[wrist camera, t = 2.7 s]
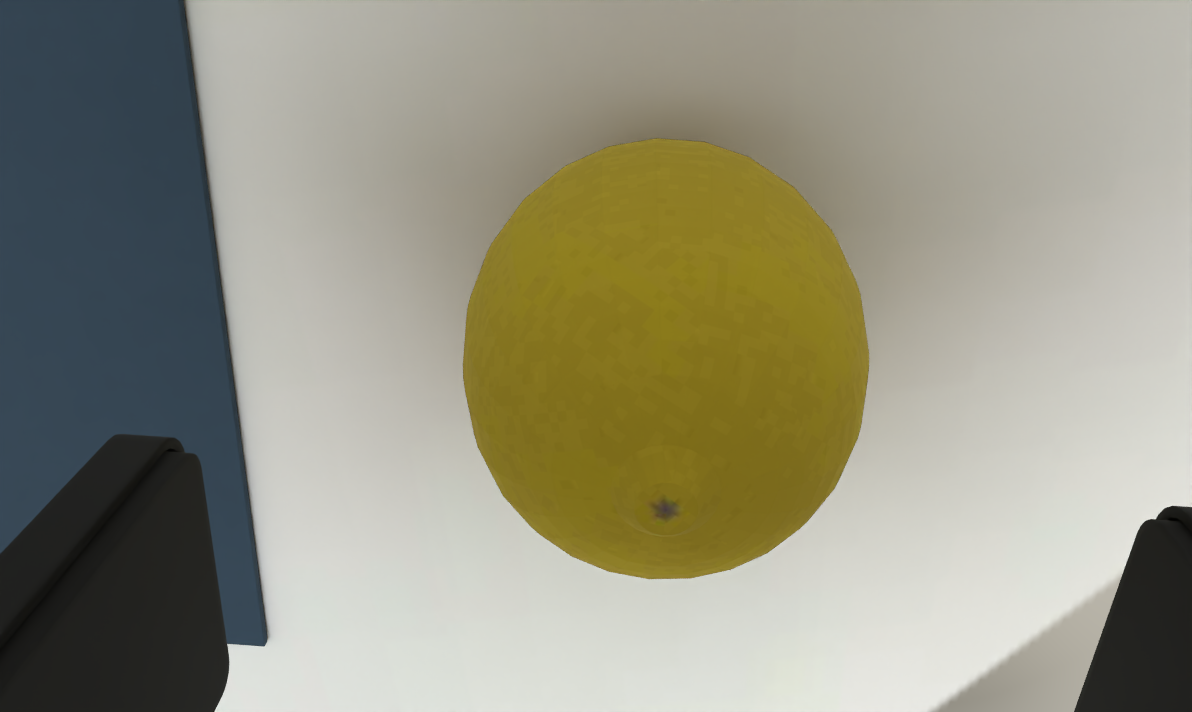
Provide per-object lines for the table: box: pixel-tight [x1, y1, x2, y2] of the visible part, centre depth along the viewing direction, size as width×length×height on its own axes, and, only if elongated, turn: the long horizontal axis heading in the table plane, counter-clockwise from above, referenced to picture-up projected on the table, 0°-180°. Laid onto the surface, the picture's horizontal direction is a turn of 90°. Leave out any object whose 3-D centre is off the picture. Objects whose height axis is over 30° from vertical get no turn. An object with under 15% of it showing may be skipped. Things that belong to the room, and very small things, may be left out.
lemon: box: [463, 138, 869, 579], centre depth 14 cm, size 6×6×8 cm
